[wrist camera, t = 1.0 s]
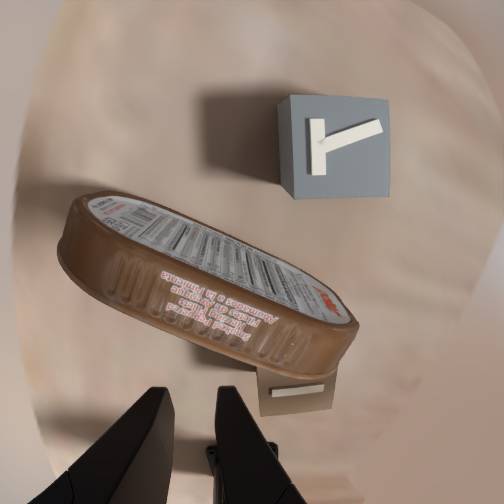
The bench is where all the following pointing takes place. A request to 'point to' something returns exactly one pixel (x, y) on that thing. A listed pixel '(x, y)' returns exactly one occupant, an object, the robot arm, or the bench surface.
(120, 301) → the tin
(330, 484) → the bench surface
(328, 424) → the bench surface
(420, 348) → the bench surface
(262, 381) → the walnut number block
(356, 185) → the slate number block
